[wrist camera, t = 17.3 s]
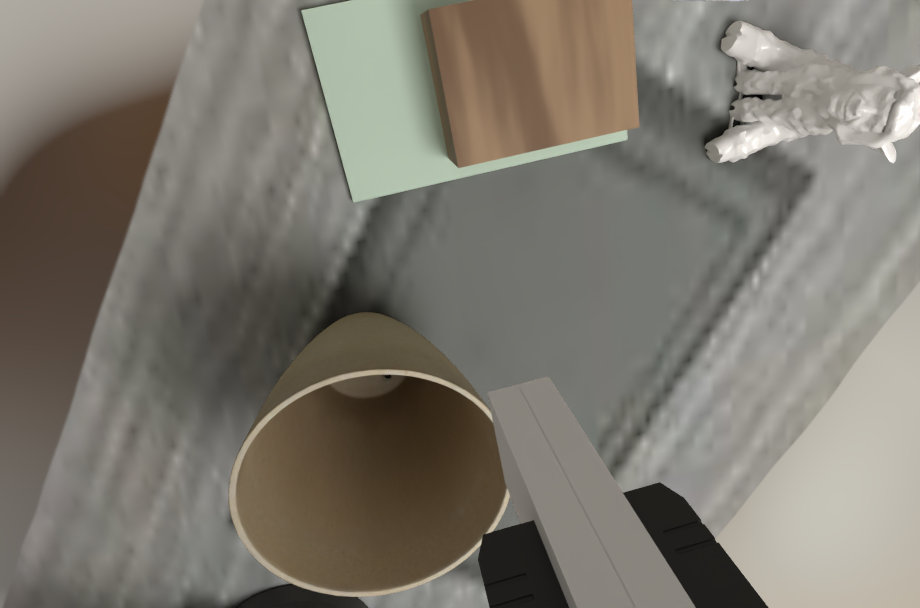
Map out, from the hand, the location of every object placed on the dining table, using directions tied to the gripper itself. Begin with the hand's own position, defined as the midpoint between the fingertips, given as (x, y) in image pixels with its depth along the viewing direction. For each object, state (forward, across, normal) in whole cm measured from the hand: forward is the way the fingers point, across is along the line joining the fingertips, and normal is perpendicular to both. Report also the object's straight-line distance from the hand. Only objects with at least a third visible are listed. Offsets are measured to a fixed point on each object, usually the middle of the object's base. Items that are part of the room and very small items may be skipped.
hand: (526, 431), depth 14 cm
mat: (+29, +6, +6) cm, 31 cm away
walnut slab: (+27, +3, +6) cm, 28 cm away
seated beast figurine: (+30, +27, +1) cm, 40 cm away
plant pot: (+30, -6, -12) cm, 33 cm away
